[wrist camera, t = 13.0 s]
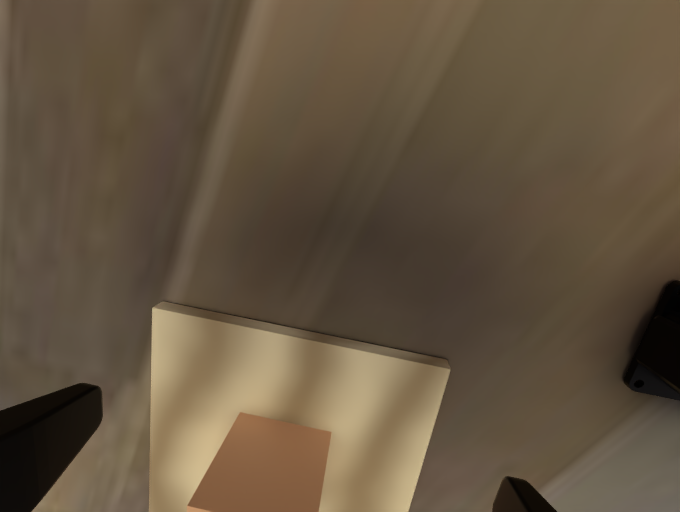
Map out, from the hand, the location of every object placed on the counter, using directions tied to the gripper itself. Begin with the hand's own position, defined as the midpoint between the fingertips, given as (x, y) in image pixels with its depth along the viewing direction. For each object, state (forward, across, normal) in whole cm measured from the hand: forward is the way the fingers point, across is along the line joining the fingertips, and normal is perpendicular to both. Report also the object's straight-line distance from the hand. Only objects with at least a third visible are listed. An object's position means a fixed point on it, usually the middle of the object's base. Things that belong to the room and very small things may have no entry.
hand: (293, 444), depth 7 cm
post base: (+12, +2, +13) cm, 18 cm away
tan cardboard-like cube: (+11, +2, +13) cm, 17 cm away
